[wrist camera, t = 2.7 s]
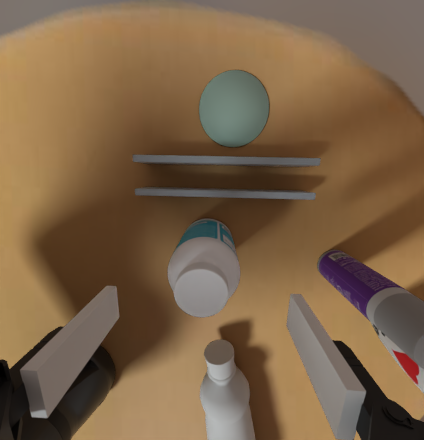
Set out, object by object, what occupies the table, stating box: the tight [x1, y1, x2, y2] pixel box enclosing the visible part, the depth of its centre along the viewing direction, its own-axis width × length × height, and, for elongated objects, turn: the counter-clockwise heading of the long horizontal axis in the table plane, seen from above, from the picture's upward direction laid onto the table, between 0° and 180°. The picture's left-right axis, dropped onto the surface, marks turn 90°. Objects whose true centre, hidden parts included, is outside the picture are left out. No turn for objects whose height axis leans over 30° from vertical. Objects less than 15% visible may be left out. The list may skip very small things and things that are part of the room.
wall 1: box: [133, 155, 321, 167], centre depth 25 cm, size 22×1×4 cm, turn 89°
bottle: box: [200, 339, 256, 440], centre depth 32 cm, size 9×9×30 cm
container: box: [317, 250, 424, 369], centre depth 22 cm, size 5×5×15 cm
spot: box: [199, 70, 269, 147], centre depth 25 cm, size 9×9×1 cm
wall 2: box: [135, 187, 316, 200], centre depth 26 cm, size 22×1×4 cm, turn 89°
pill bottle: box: [167, 218, 240, 317], centre depth 23 cm, size 8×7×14 cm
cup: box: [371, 323, 424, 393], centre depth 27 cm, size 8×8×10 cm
